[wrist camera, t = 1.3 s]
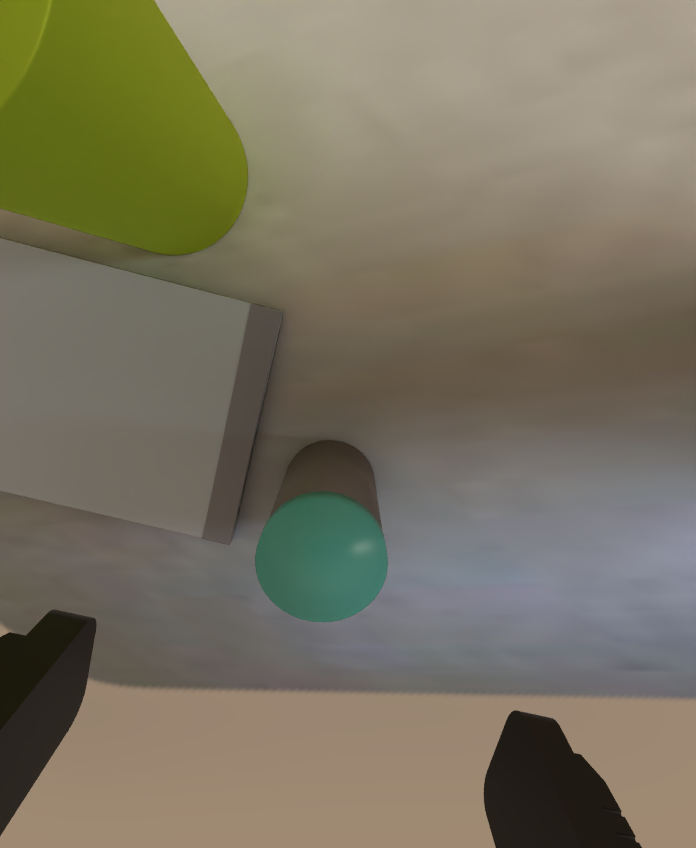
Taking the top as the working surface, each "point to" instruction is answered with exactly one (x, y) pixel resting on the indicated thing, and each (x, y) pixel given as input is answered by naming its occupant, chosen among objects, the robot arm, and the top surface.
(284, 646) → the top surface
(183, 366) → the notepad
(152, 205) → the soap dispenser
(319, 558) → the marker
